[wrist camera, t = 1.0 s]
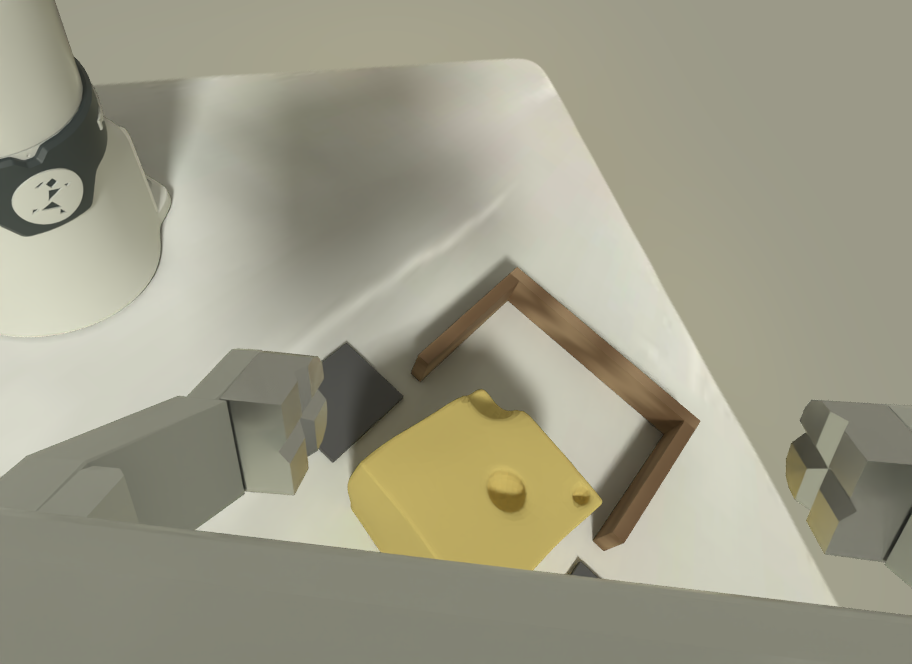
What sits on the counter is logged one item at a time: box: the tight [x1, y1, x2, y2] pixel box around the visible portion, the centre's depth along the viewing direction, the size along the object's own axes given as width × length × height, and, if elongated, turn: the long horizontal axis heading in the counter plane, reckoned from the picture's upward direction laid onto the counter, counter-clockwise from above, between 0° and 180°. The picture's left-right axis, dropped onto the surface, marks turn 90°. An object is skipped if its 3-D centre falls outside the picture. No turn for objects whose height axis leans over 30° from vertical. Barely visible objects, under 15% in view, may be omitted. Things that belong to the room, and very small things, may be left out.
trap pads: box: [318, 343, 598, 578], centre depth 40 cm, size 29×7×1 cm, turn 49°
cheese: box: [348, 389, 602, 570], centre depth 35 cm, size 10×11×10 cm
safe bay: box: [411, 267, 700, 551], centre depth 45 cm, size 19×12×3 cm, turn 49°
